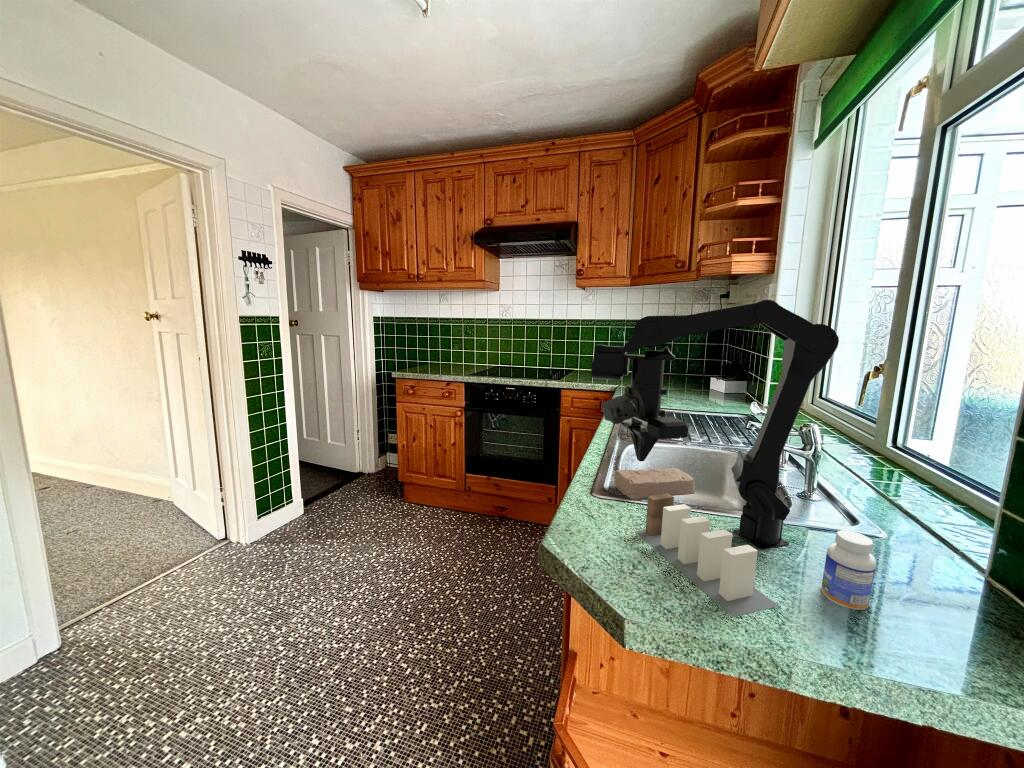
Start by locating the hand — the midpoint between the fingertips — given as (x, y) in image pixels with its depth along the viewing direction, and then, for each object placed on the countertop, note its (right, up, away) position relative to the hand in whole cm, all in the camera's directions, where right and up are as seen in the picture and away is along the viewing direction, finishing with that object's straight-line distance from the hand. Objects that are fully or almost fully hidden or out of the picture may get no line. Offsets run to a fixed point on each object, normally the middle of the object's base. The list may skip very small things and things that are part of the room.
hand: (640, 460), depth 80 cm
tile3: (+4, -14, -13) cm, 19 cm away
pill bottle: (+23, -16, -21) cm, 35 cm away
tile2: (+3, -13, -9) cm, 16 cm away
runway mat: (+5, -14, -14) cm, 21 cm away
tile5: (+7, -15, -21) cm, 27 cm away
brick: (+8, -10, +15) cm, 20 cm away
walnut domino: (+2, -12, -4) cm, 13 cm away
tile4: (+6, -15, -17) cm, 23 cm away
